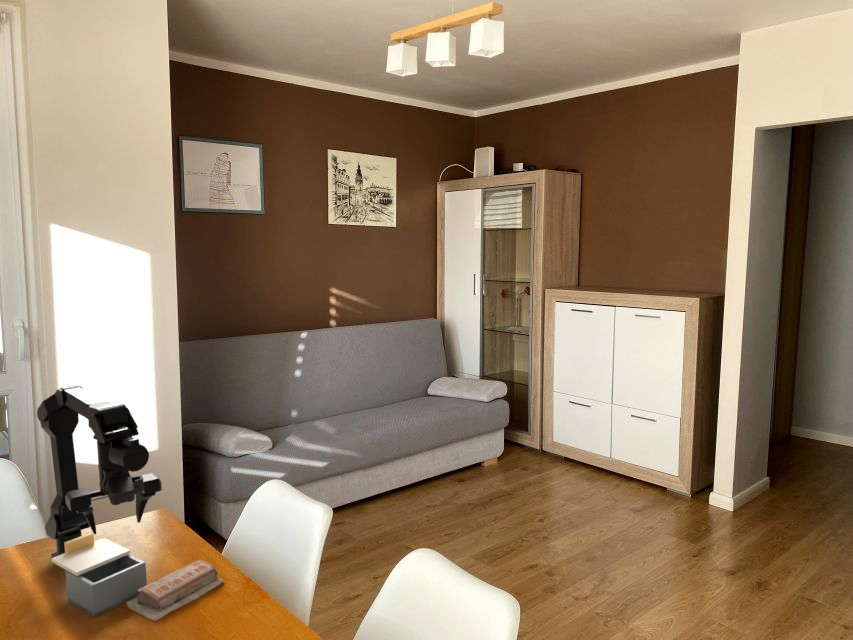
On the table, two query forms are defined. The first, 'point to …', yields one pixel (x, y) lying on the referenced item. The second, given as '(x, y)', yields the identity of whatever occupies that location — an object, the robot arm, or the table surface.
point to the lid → (88, 554)
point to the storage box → (107, 585)
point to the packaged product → (175, 590)
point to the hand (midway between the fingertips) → (117, 527)
